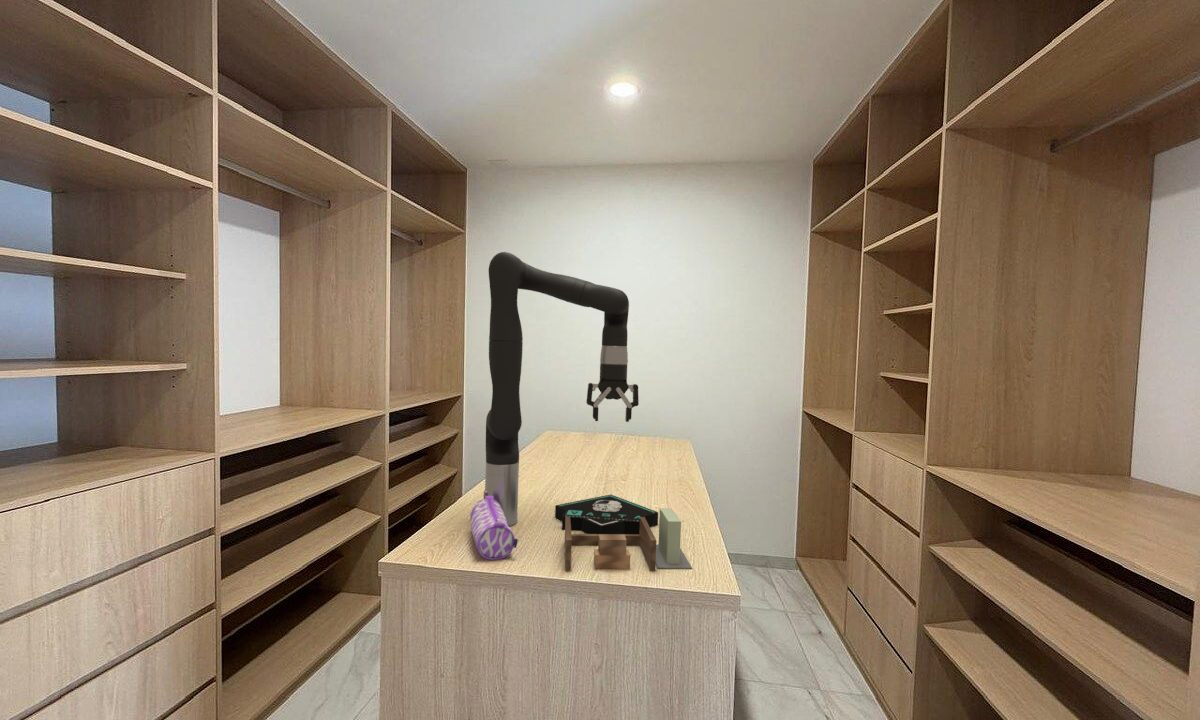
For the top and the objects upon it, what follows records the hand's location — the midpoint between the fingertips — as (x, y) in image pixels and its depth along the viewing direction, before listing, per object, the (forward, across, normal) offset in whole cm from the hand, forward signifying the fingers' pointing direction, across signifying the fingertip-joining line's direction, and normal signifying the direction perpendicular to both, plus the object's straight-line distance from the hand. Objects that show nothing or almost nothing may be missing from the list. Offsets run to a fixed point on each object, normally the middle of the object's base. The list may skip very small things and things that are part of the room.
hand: (611, 421), depth 144 cm
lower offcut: (+30, +2, +24) cm, 39 cm away
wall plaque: (+31, 0, -6) cm, 31 cm away
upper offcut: (+27, +2, +24) cm, 36 cm away
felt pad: (+30, -13, +19) cm, 38 cm away
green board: (+30, -13, +19) cm, 38 cm away
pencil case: (+30, +31, +12) cm, 45 cm away
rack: (+30, +2, +19) cm, 36 cm away
